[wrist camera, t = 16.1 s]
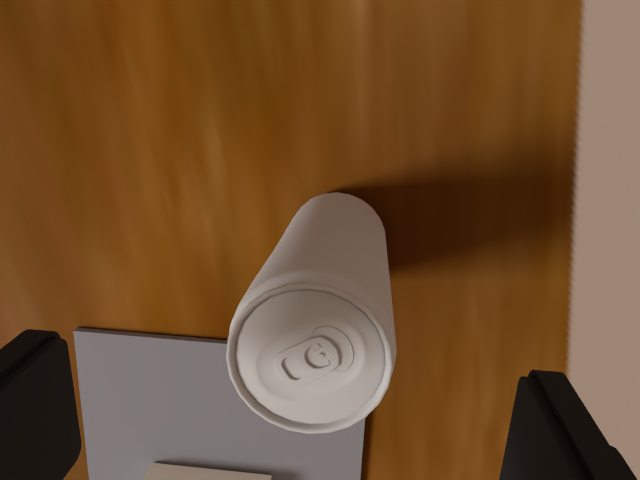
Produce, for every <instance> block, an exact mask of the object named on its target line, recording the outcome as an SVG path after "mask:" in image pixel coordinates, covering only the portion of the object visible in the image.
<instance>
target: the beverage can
mask: <svg viewBox="0 0 640 480" xmlns="http://www.w3.org/2000/svg"><path fill="white" fill-rule="evenodd" d="M396 354H397V350H396V339H395V329H394V319H393V308H392V298H391V288H390V277H389V267H388V256H387V246H386V236H385V229H384V227H383V224H382V221H381V219H380V217H379V216H378V215H377V213H376V212H375V211H374V209H373V208H372V207H371V206H369V205H368V204H367V203H366V202H364V201H363V200H362V199H359V198H357V197H355V196H352V195H350V194H344V193H338V192H335V193H325V194H321V195H319V196H316V197H314V198H312V199H310V200H309V201H308V202H307V203H305V204H304V205H303V206H302V207H301V208H300V209H299V211H298V212H297V213H296V215H295V216H294V218H293V219H292V221H291V223H290V224H289V226H288V228H287V229H286V231H285V233H284V234H283V236H282V238H281V239H280V241H279V243H278V244H277V246H276V248H275V249H274V251H273V252H272V254H271V255H270V257H269V258H268V260H267V261H266V263H265V264H264V266H263V267H262V269H261V270H260V272H259V273H258V275H257V276H256V278H255V279H254V281H253V282H252V284H251V285H250V287H249V289H248V290H247V292H246V294H245V295H244V297H243V298H242V300H241V302H240V303H239V305H238V308H237V310H236V313H235V315H234V317H233V320H232V322H231V325H230V333H229V337H228V343H227V353H226V360H227V365H228V370H229V375H230V378H231V380H232V382H233V384H234V386H235V388H236V390H237V392H238V394H239V396H240V397H241V398H242V399H243V400H244V402H245V403H246V404H247V405H248V406H249V407H250V408H251V410H253V411H254V412H255V413H257V414H258V415H259V416H261V417H262V418H264V419H265V420H266V421H268V422H270V423H272V424H274V425H277V426H279V427H282V428H284V429H286V430H290V431H296V432H301V433H307V434H315V433H330V432H333V431H337V430H341V429H344V428H348V427H350V426H351V425H353V424H355V423H357V422H358V421H360V420H362V419H363V418H365V417H366V416H367V415H368V414H369V413H370V412H371V411H372V410H373V409H374V408H375V407H376V406H377V405H378V404H379V403H380V402H381V400H382V398H383V396H384V394H385V392H386V390H387V389H388V387H389V383H390V378H391V375H392V373H393V368H394V364H395V359H396Z"/></svg>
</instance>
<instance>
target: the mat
mask: <svg viewBox="0 0 640 480" xmlns="http://www.w3.org/2000/svg"><path fill="white" fill-rule="evenodd" d="M73 332H74V341H75V351H76V360H77V369H78V379H79V388H80V397H81V407H82V416H83V426H84V435H85V444H86V454H87V463H88V472H89V480H142V479H143V477H144V475H145V473H146V472H147V470H148V468H149V466H150V465H151V463H160V464H169V465H179V466H188V467H198V468H207V469H217V470H226V471H236V472H245V473H255V474H264V475H272V480H360V477H361V465H362V452H363V440H364V427H365V418H363V419H362V420H360V421H358V422H357V423H355V424H353V425H351V426H350V427H348V428H344V429H341V430H337V431H333V432H330V433H315V434H307V433H301V432H296V431H290V430H286V429H284V428H282V427H279V426H277V425H274V424H272V423H270V422H268V421H266V420H265V419H264V418H262V417H261V416H259V415H258V414H257V413H255V412H254V411H253V410H251V408H250V407H249V406H248V405H247V404H246V403H245V402H244V400H243V399H242V398H241V397H240V396H239V394H238V392H237V390H236V388H235V386H234V384H233V382H232V380H231V378H230V375H229V370H228V365H227V360H226V353H227V343H228V340H217V339H206V338H194V337H182V336H170V335H158V334H147V333H135V332H123V331H111V330H99V329H88V328H76V329H75V330H74V331H73Z"/></svg>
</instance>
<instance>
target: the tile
mask: <svg viewBox="0 0 640 480" xmlns="http://www.w3.org/2000/svg"><path fill="white" fill-rule="evenodd" d="M142 480H272V475H264V474H255V473H245V472H236V471H226V470H217V469H207V468H198V467H188V466H179V465H169V464H160V463H151V465H150V466H149V468H148V470H147V472H146V473H145V475H144V477H143V479H142Z"/></svg>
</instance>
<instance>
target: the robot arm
mask: <svg viewBox="0 0 640 480" xmlns="http://www.w3.org/2000/svg"><path fill="white" fill-rule="evenodd" d="M80 450H81V437H80V430H79V423H78V416H77V409H76V401H75V394H74V387H73V380H72V373H71V366H70V359H69V352H68V345H67V342H66V341H65V340H64V339H61V338H60V335H59V334H58V333H57V332H55V331H44V330H32V329H29V330H25V331H23V332H22V333H21V334H19V335H18V336H17V337H16V338H14V339H13V340H12V341H10V342H9V343H8V344H7V345H5V346H4V347H3V348H2V349H0V480H63V479H64V477H65V476H66V475H67V473H68V472H69V470H70V469H71V468H72V466H73V465H74V464H75V462H76V460H77V459H78V456H79V454H80ZM499 480H637V479H636V477H635V475H634V474H633V472H632V471H631V469H630V468H629V466H628V465H627V463H626V462H625V460H624V458H623V457H622V455H621V454H620V453H619V452H618V450H617V449H616V448H614V447H612V446H610V445H609V444H608V442H607V440H606V439H605V437H604V436H603V434H602V432H601V431H600V429H599V428H598V426H597V425H596V423H595V421H594V420H593V418H592V417H591V415H590V414H589V412H588V410H587V409H586V407H585V406H584V404H583V402H582V401H581V399H580V398H579V396H578V395H577V393H576V392H575V390H574V388H573V387H572V385H571V383H570V382H569V380H568V379H567V377H566V376H565V375H564V373H562V372H553V371H541V370H532V371H530V373H529V375H528V377H524V376H522V377H520V379H519V382H518V386H517V392H516V397H515V402H514V407H513V412H512V417H511V422H510V428H509V433H508V438H507V443H506V448H505V453H504V458H503V464H502V469H501V474H500V479H499Z"/></svg>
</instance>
